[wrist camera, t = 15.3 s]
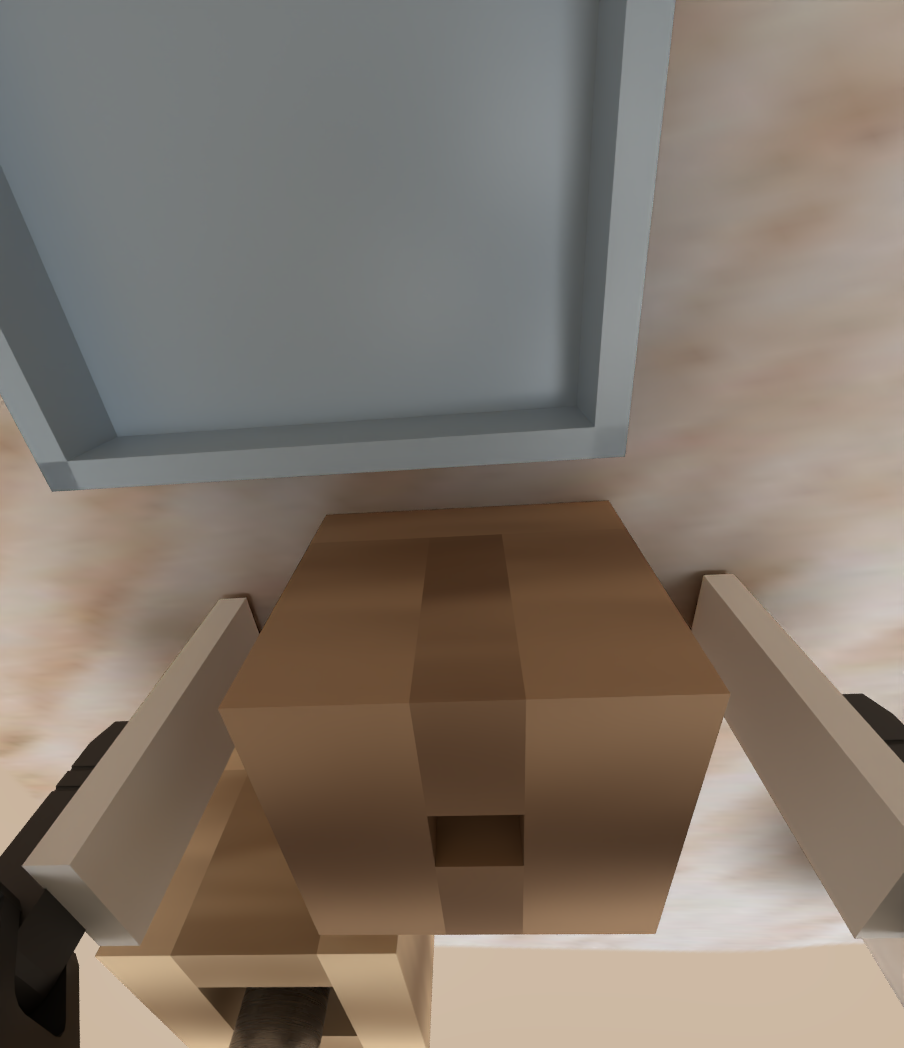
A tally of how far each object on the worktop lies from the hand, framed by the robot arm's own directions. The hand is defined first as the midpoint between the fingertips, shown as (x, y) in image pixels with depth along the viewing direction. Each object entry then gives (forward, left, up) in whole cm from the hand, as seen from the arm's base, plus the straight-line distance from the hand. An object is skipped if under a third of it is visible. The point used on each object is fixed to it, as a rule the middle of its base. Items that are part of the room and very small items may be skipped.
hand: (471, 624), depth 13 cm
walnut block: (0, 0, 0) cm, 0 cm away
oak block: (+8, -5, 0) cm, 10 cm away
